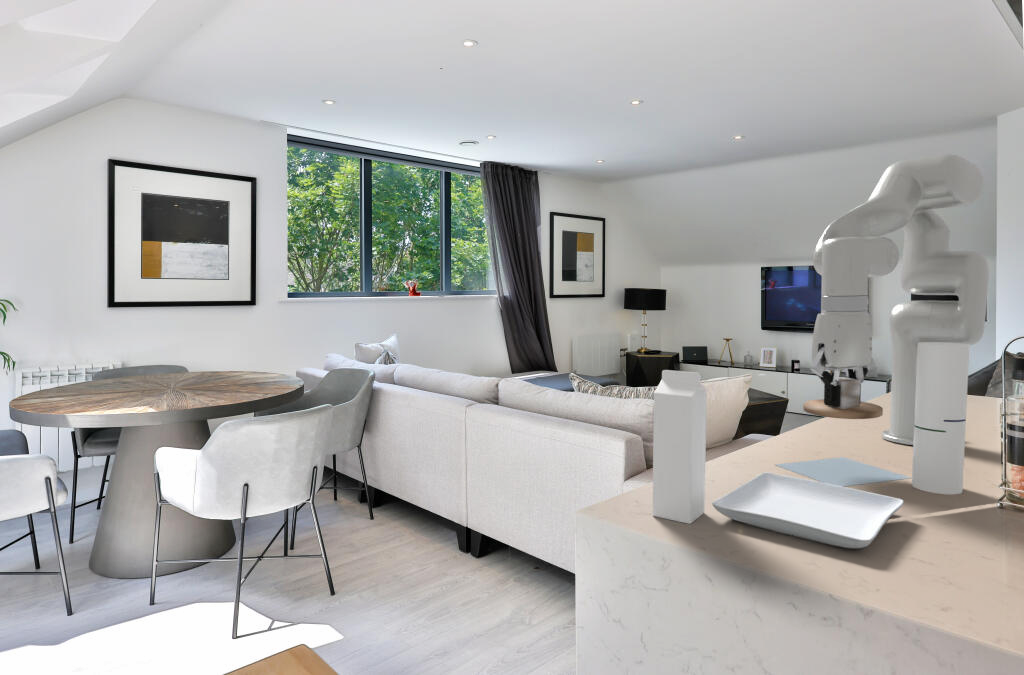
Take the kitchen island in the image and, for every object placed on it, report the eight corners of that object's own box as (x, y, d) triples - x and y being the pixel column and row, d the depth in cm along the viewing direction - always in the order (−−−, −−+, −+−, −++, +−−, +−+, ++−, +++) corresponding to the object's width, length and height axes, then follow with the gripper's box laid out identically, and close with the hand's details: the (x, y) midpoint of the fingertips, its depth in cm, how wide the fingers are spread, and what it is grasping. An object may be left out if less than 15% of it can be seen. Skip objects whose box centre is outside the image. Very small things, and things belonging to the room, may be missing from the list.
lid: (841, 402, 125) (841, 372, 124) (900, 414, 112) (901, 381, 112) (787, 408, 121) (788, 377, 120) (842, 421, 108) (843, 387, 108)
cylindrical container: (970, 498, 103) (978, 345, 101) (922, 495, 104) (928, 345, 102) (949, 485, 110) (956, 342, 108) (904, 482, 111) (910, 341, 109)
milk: (667, 505, 100) (669, 367, 99) (705, 513, 96) (707, 370, 95) (651, 516, 95) (653, 371, 94) (690, 524, 92) (692, 374, 90)
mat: (843, 459, 127) (843, 457, 127) (911, 480, 113) (911, 477, 112) (774, 467, 121) (774, 464, 121) (836, 490, 107) (836, 487, 107)
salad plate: (869, 565, 79) (870, 539, 78) (708, 524, 93) (708, 501, 93) (905, 519, 94) (906, 497, 94) (763, 490, 109) (763, 470, 108)
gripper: (862, 303, 121) (860, 397, 122) (791, 306, 116) (790, 405, 117) (897, 304, 114) (894, 404, 115) (823, 308, 109) (821, 412, 110)
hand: (842, 403), depth 116 cm, fingers closed on lid, 4 cm apart
